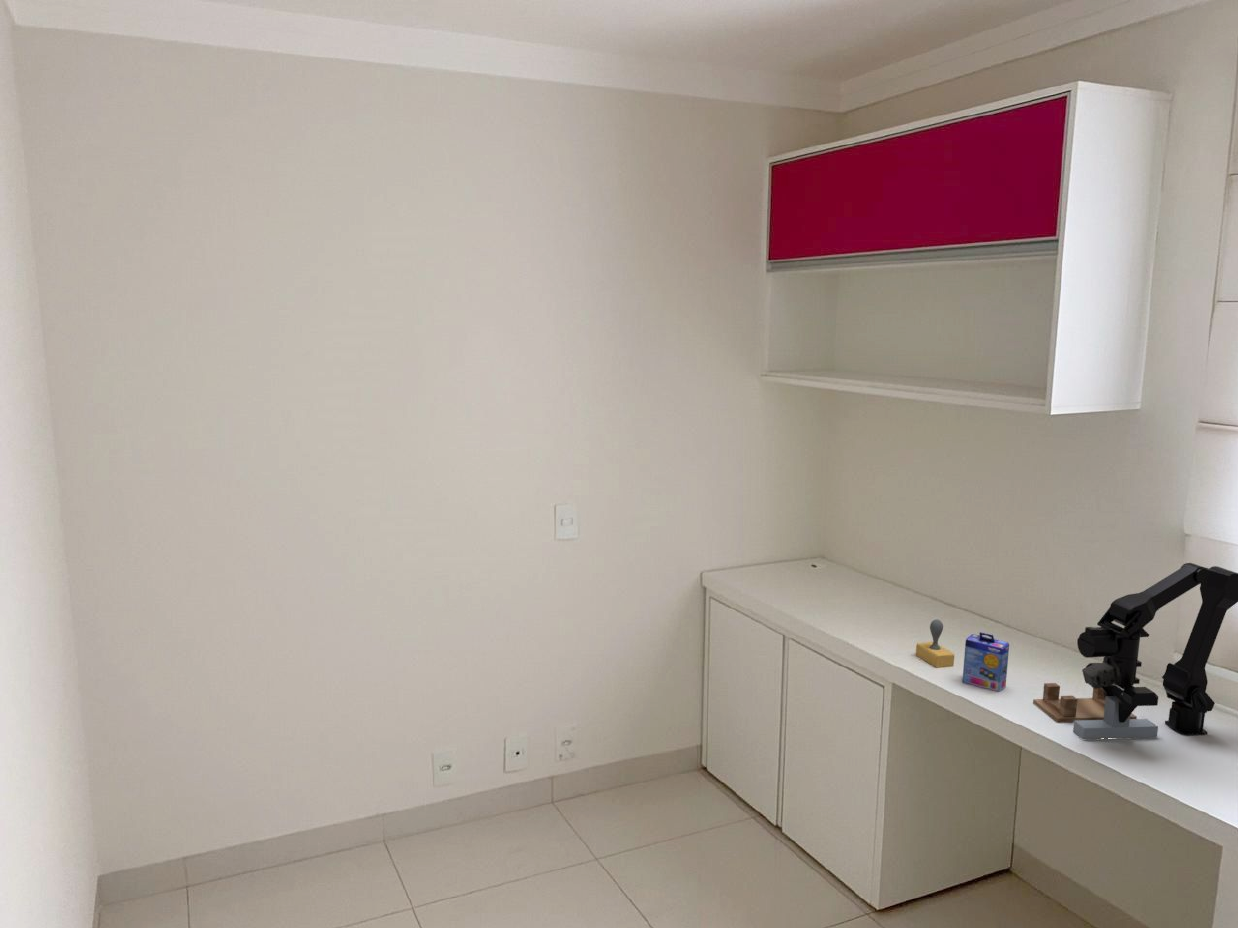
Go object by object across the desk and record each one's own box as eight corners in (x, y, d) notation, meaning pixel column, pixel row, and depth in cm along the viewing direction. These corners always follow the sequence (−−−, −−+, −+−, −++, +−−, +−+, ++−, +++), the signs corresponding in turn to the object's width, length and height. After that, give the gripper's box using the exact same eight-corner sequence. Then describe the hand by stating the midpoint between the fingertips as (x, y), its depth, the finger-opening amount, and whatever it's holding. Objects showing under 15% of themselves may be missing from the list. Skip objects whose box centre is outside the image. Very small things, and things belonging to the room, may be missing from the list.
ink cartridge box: (960, 682, 244) (965, 630, 242) (968, 676, 248) (972, 624, 246) (999, 692, 238) (1004, 639, 236) (1006, 686, 242) (1011, 633, 240)
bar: (1145, 730, 218) (1149, 694, 216) (1156, 738, 214) (1161, 701, 213) (1072, 732, 216) (1076, 696, 215) (1082, 740, 212) (1086, 703, 211)
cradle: (1108, 701, 234) (1111, 680, 233) (1136, 720, 223) (1138, 698, 222) (1032, 702, 232) (1034, 682, 231) (1057, 722, 221) (1059, 700, 220)
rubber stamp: (914, 655, 263) (917, 614, 261) (932, 653, 265) (935, 613, 263) (936, 668, 254) (939, 626, 252) (954, 666, 255) (957, 624, 253)
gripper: (1067, 640, 220) (1061, 702, 223) (1115, 670, 202) (1107, 737, 205) (1111, 639, 221) (1104, 701, 224) (1163, 670, 203) (1155, 736, 206)
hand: (1116, 718), depth 214 cm, fingers closed on bar, 3 cm apart
